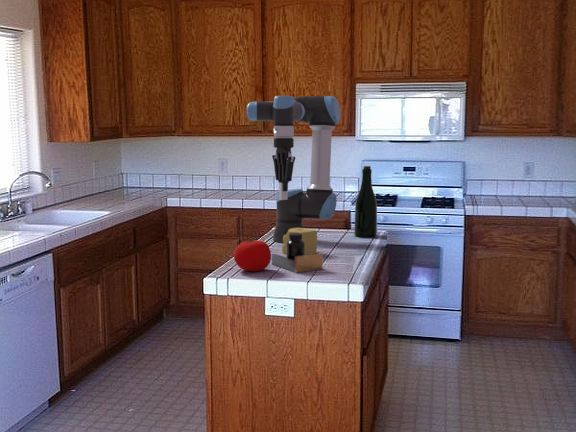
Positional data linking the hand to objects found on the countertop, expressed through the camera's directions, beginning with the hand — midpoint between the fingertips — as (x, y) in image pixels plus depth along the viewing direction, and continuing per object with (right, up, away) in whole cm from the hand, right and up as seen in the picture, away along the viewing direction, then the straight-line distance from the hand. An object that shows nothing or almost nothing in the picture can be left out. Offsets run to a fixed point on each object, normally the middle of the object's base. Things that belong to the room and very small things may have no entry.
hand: (283, 199), depth 261 cm
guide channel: (+5, -25, -4) cm, 26 cm away
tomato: (-11, -26, -10) cm, 31 cm away
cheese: (+7, -22, +21) cm, 31 cm away
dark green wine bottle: (+38, -16, +61) cm, 74 cm away
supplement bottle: (+5, -25, -4) cm, 26 cm away
